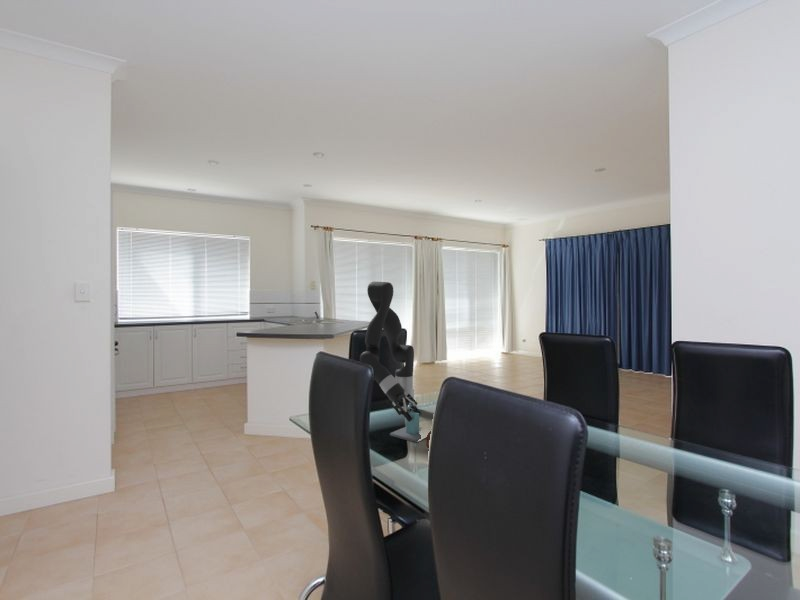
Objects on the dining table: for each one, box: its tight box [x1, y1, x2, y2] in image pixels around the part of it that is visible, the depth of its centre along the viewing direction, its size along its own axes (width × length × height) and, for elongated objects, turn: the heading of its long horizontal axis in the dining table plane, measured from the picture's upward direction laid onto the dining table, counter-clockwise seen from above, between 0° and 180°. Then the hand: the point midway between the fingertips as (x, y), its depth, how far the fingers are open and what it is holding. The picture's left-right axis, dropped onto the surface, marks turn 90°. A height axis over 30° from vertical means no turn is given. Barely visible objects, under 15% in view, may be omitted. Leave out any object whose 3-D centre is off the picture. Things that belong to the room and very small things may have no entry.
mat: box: [389, 426, 423, 442], centre depth 176 cm, size 14×14×1 cm
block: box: [405, 411, 420, 434], centre depth 176 cm, size 4×4×8 cm
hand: (415, 417), depth 176 cm, fingers open, 8 cm apart
